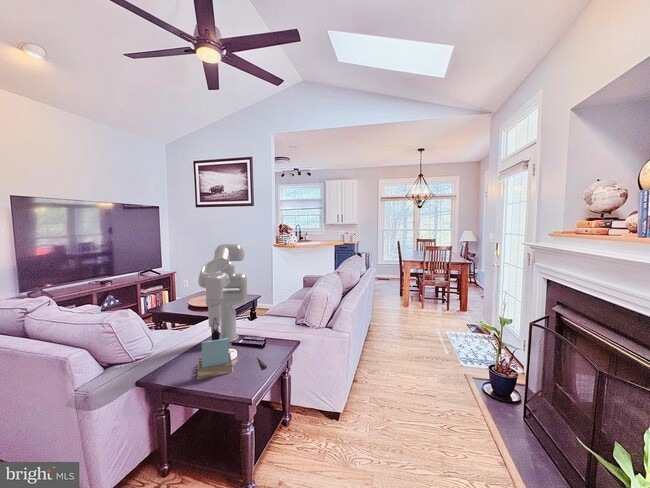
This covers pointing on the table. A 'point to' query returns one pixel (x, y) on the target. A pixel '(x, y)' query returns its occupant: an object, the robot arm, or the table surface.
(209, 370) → the rack
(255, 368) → the table surface
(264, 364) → the phone
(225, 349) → the tall sheet
